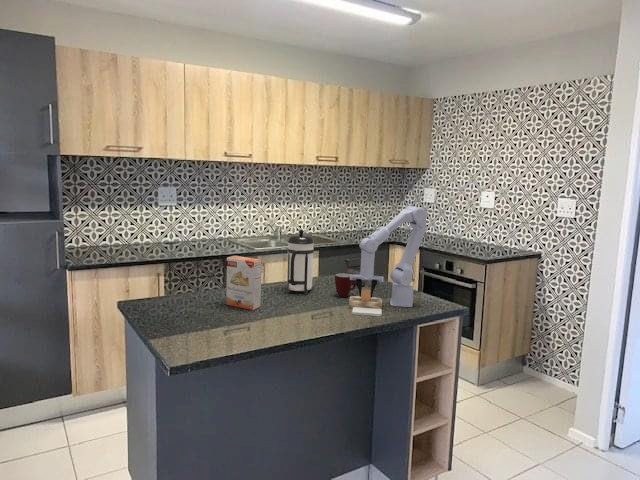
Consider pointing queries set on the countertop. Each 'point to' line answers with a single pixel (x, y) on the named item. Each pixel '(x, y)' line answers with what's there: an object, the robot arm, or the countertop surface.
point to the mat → (367, 311)
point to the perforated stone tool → (354, 272)
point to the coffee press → (300, 263)
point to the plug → (365, 294)
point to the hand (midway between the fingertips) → (365, 296)
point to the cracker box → (244, 282)
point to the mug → (343, 284)
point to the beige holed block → (365, 302)
